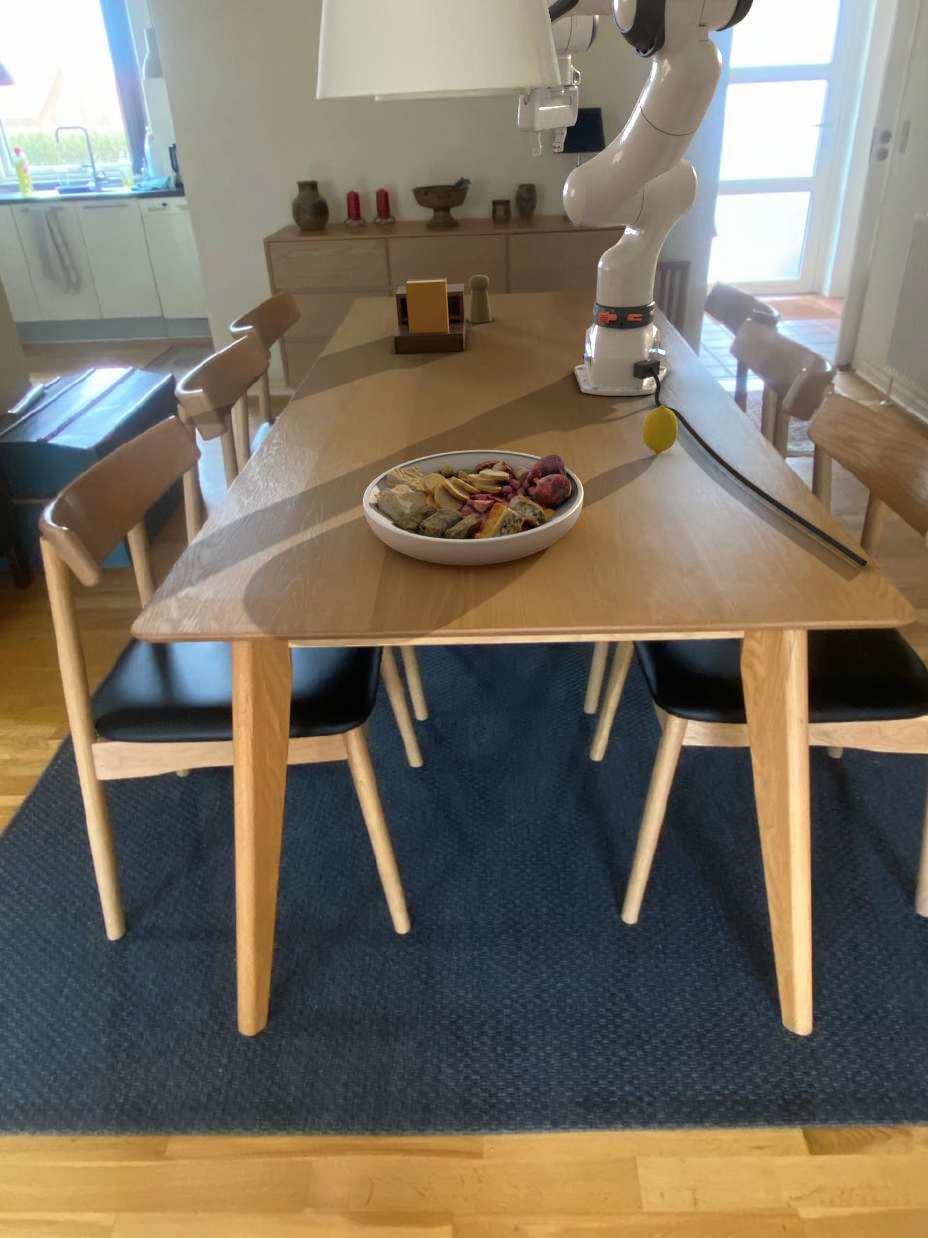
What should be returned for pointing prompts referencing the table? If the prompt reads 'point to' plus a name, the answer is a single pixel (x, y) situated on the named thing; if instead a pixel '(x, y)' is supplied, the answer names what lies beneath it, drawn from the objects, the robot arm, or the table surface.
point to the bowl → (474, 506)
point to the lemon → (660, 429)
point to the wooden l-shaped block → (434, 340)
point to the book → (427, 305)
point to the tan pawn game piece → (479, 300)
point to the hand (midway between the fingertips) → (547, 154)
